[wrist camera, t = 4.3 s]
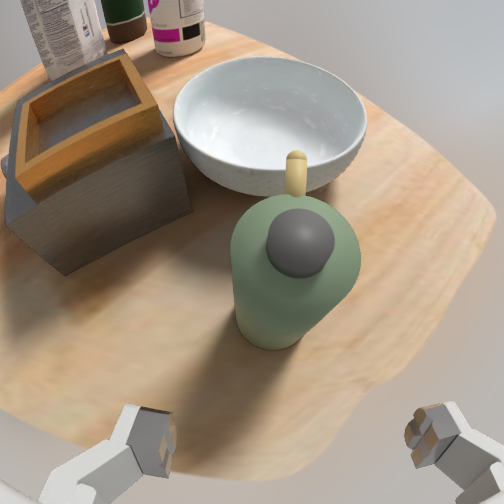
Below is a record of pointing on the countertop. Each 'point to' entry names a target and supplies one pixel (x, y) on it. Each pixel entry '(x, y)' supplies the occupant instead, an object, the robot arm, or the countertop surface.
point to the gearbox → (91, 165)
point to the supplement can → (177, 26)
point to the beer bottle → (124, 19)
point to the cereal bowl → (268, 123)
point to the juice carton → (65, 33)
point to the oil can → (290, 262)
